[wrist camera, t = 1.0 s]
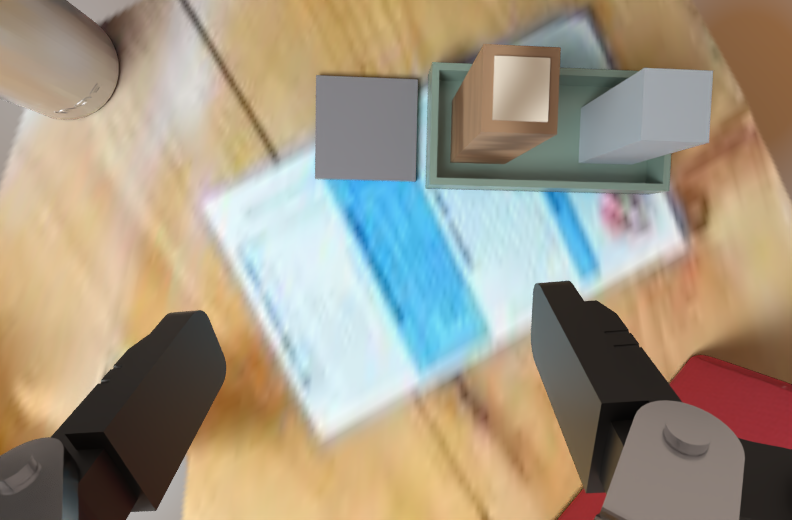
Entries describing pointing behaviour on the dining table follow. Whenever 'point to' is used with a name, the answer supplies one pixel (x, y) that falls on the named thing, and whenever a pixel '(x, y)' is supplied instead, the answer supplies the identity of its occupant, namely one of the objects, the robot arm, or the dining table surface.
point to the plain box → (647, 117)
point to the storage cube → (721, 411)
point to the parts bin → (548, 161)
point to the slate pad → (366, 128)
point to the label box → (505, 104)
